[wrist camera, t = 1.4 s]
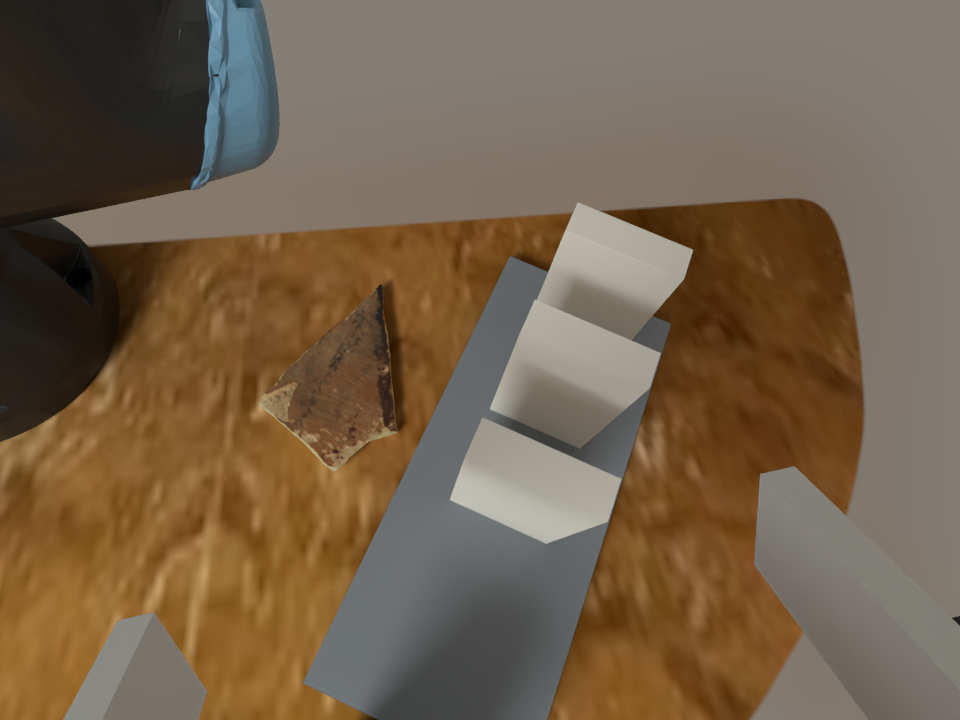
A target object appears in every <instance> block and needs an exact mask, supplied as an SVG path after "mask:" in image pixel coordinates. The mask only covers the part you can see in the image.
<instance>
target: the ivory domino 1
mask: <svg viewBox="0 0 960 720" xmlns="http://www.w3.org/2000/svg"><path fill="white" fill-rule="evenodd" d="M692 253H693V249H690V248H688V247H685V246H683V245H680V244H678V243H676V242H673V241H671V240H668V239H666V238H663V237H661V236H659V235H656V234H654V233H651V232H649V231H646V230H644V229H641V228H639V227H637V226H634V225H632V224H629V223H627V222H624V221H622V220H620V219H617V218H615V217H612V216H610V215H607V214H605V213H603V212H600V211H598V210H595V209H593V208H590V207H588V206H585V205H583V204H581V203H577V206H576V208H575V210H574V212H573V215H572V217H571V219H570V221H569V224H568V226H567V228H566V230H565V233H564V235H563V238H562V240H561V243H560V245H559V247H558V250H557V252H556V255H555V257H554V260H553V262H552V264H551V267H550V269H549V272H548V274H547V276H546V279H545V281H544V284H543V286H542V289H541V291H540V293H539V296H538V298H537V301H540V302H542V303H544V304H547V305H549V306H551V307H554V308H556V309H558V310H561V311H563V312H565V313H568V314H570V315H572V316H575V317H577V318H580V319H582V320H584V321H587V322H589V323H591V324H594V325H596V326H598V327H601V328H603V329H605V330H608V331H610V332H612V333H615V334H617V335H620V336H622V337H624V338H627V339H629V340H632V339H633V338H634V337H635V336H636V334H637V333H638V332H639V331H640V330H641V329H642V327H643V326H644V325H645V324H646V323H647V322H648V320H649V319H650V318H651V317H652V316H653V315H654V313H655V312H656V311H657V310H658V309H659V308H660V306H661V305H662V304H663V303H664V302H665V301H666V299H667V298H668V297H669V296H670V295H671V294H672V293H673V291H674V290H675V289H676V288H677V287H678V286H679V284H680V283H681V282H682V281H683V280H684V278H685V275H686V272H687V269H688V265H689V262H690V259H691V256H692Z"/></svg>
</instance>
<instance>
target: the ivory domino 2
mask: <svg viewBox="0 0 960 720" xmlns="http://www.w3.org/2000/svg"><path fill="white" fill-rule="evenodd" d="M660 354H661V353H660V352H657V351H655V350H652V349H650V348H648V347H645V346H643V345H641V344H638V343H636V342H634V341H631V340H629V339H627V338H624V337H622V336H620V335H617V334H615V333H612V332H610V331H608V330H605V329H603V328H601V327H598V326H596V325H594V324H591V323H589V322H587V321H584V320H582V319H580V318H577V317H575V316H572V315H570V314H568V313H565V312H563V311H561V310H558V309H556V308H554V307H551V306H549V305H547V304H544V303H542V302H540V301H537V300H534V302H533V305H532V307H531V309H530V311H529V314H528V316H527V318H526V321H525V323H524V325H523V327H522V330H521V332H520V334H519V337H518V339H517V342H516V344H515V347H514V349H513V352H512V354H511V357H510V359H509V362H508V364H507V367H506V369H505V372H504V374H503V377H502V379H501V382H500V384H499V387H498V389H497V392H496V394H495V397H494V399H493V402H492V404H491V407H490V409H491V410H493V411H495V412H498V413H500V414H502V415H504V416H507V417H509V418H511V419H513V420H516V421H518V422H520V423H522V424H525V425H527V426H529V427H532V428H534V429H536V430H538V431H541V432H543V433H545V434H547V435H550V436H552V437H554V438H556V439H559V440H561V441H563V442H566V443H568V444H570V445H572V446H575V447H577V448H579V449H580V448H581V447H582V446H584V445H585V444H586V443H587V442H588V441H589V440H591V439H592V438H593V437H594V436H595V435H596V434H597V433H599V432H600V431H601V430H602V429H603V428H604V427H606V426H607V425H608V424H609V423H610V422H611V421H613V420H614V419H615V418H616V417H617V416H618V415H619V414H621V413H622V412H623V411H624V410H625V409H626V408H628V407H629V406H630V405H631V404H632V403H633V402H634V401H636V400H637V399H638V398H639V397H640V396H641V395H643V394H644V393H645V392H646V391H647V390H648V389H650V386H651V383H652V380H653V377H654V374H655V370H656V367H657V364H658V361H659V358H660Z"/></svg>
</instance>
